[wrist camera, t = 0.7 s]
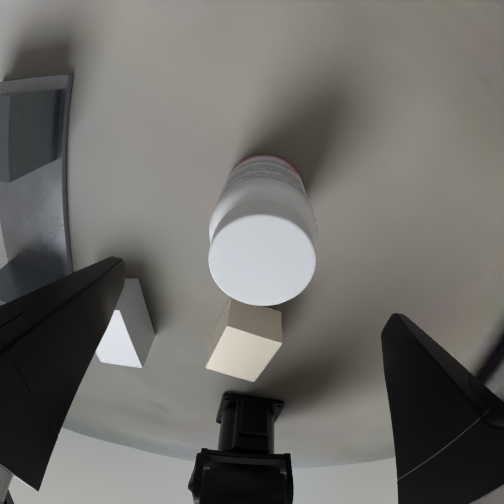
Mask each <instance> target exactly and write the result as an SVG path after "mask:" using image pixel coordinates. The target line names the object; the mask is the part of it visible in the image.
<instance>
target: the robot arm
mask: <svg viewBox="0 0 504 504" xmlns="http://www.w3.org/2000/svg"><path fill="white" fill-rule="evenodd" d="M124 283H125V272H124V261H123V259H121V258H117V257H109V258H107V259H104V260H102V261H100V262H97V263H95V264H92V265H90V266H88V267H85V268H83V269H81V270H79V271H76V272H74V273H72V274H69V275H67V276H65V277H63V278H60V279H58V280H56V281H54V282H51V283H49V284H47V285H45V286H42V287H40V288H38V289H36V290H34V291H32V292H29V293H28V295H27V294H25V295H23V296H21V297H19V298H17V299H14V300H12V301H10V302H8V303H6V304H3V305H1V306H0V504H14V502H13V500H12V498H11V495H10V493H9V490H8V488H9V485H10V482H11V480H12V477H14V478H16V479H18V480H19V481H21V482H22V483H24V484H26V485H27V486H29V487H31V488H33V489H35V490H36V491H39V489H40V486H41V483H42V480H43V477H44V474H45V471H46V468H47V465H48V462H49V459H50V456H51V453H52V451H53V449H54V446H55V443H56V441H57V438H58V434H59V432H60V430H61V427H62V425H63V422H64V420H65V418H66V415H67V413H68V410H69V408H70V406H71V403H72V401H73V399H74V396H75V394H76V392H77V390H78V387H79V385H80V383H81V381H82V379H83V377H84V374H85V372H86V370H87V368H88V366H89V364H90V362H91V360H92V358H93V356H94V353H95V351H96V349H97V347H98V345H99V343H100V341H101V339H102V337H103V335H104V334H105V332H106V330H107V327H108V325H109V323H110V321H111V318H112V315H113V313H114V310H115V308H116V305H117V302H118V300H119V297H120V295H121V292H122V290H123V287H124ZM381 341H382V352H383V364H384V374H385V381H386V387H387V393H388V399H389V406H390V413H391V421H392V428H393V437H394V446H395V456H396V468H397V480H398V481H397V484H398V504H504V402H503V401H502V400H501V399H500V398H499V397H497V396H496V395H495V394H494V393H493V392H491V391H490V390H489V389H488V388H487V387H486V386H484V385H483V384H482V383H481V382H480V381H479V380H478V379H477V378H476V377H474V376H473V375H472V374H471V373H470V372H469V371H468V370H467V369H466V368H465V367H463V366H462V365H461V364H460V363H459V362H458V361H457V360H456V359H455V358H454V357H452V356H451V355H450V354H449V353H448V352H447V351H446V350H445V349H443V348H442V347H441V346H440V345H439V344H438V343H437V342H435V341H434V340H433V339H432V338H431V337H430V336H429V335H427V334H426V333H425V332H424V331H423V330H422V329H420V328H419V327H418V326H417V325H416V324H415V323H413V322H412V321H411V320H410V319H409V318H408V317H406V316H405V315H403V314H398V313H394V314H392V315H391V317H390V318H389V320H388V322H387V323H386V325H385V327H384V328H383V330H382V333H381ZM283 408H284V402H283V401H277V400H269V399H261V398H254V397H247V396H241V395H235V394H229V393H225V394H223V396H222V400H221V403H220V407H219V410H218V414H217V418H216V422H217V423H219V424H221V427H220V435H219V443H218V450H209V449H207V448H202V450H201V453H197V456H196V462H195V467H194V470H193V473H192V476H191V479H190V481H189V485H188V489H189V490H190V491H191V492H192V496H193V500H194V503H195V504H292V503H293V476H292V466H291V457H290V453H285V454H274V422H275V421H276V419H277V418H278V416H279V414H280V413H281V411H282V409H283Z"/></svg>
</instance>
